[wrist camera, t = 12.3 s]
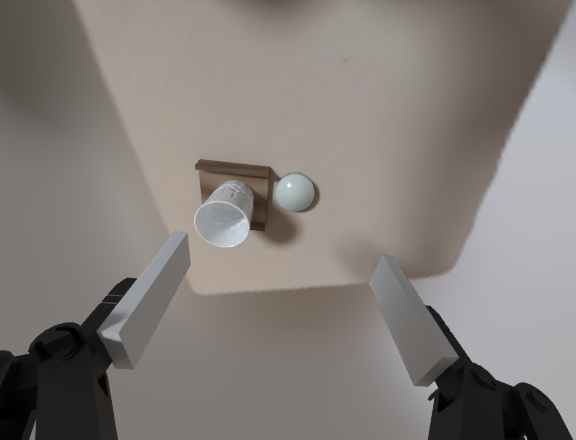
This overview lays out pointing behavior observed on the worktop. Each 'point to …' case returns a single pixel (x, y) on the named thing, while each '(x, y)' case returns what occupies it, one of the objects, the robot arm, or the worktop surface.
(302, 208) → the pale mint domed disc
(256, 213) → the stand
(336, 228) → the worktop surface
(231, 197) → the white cup
